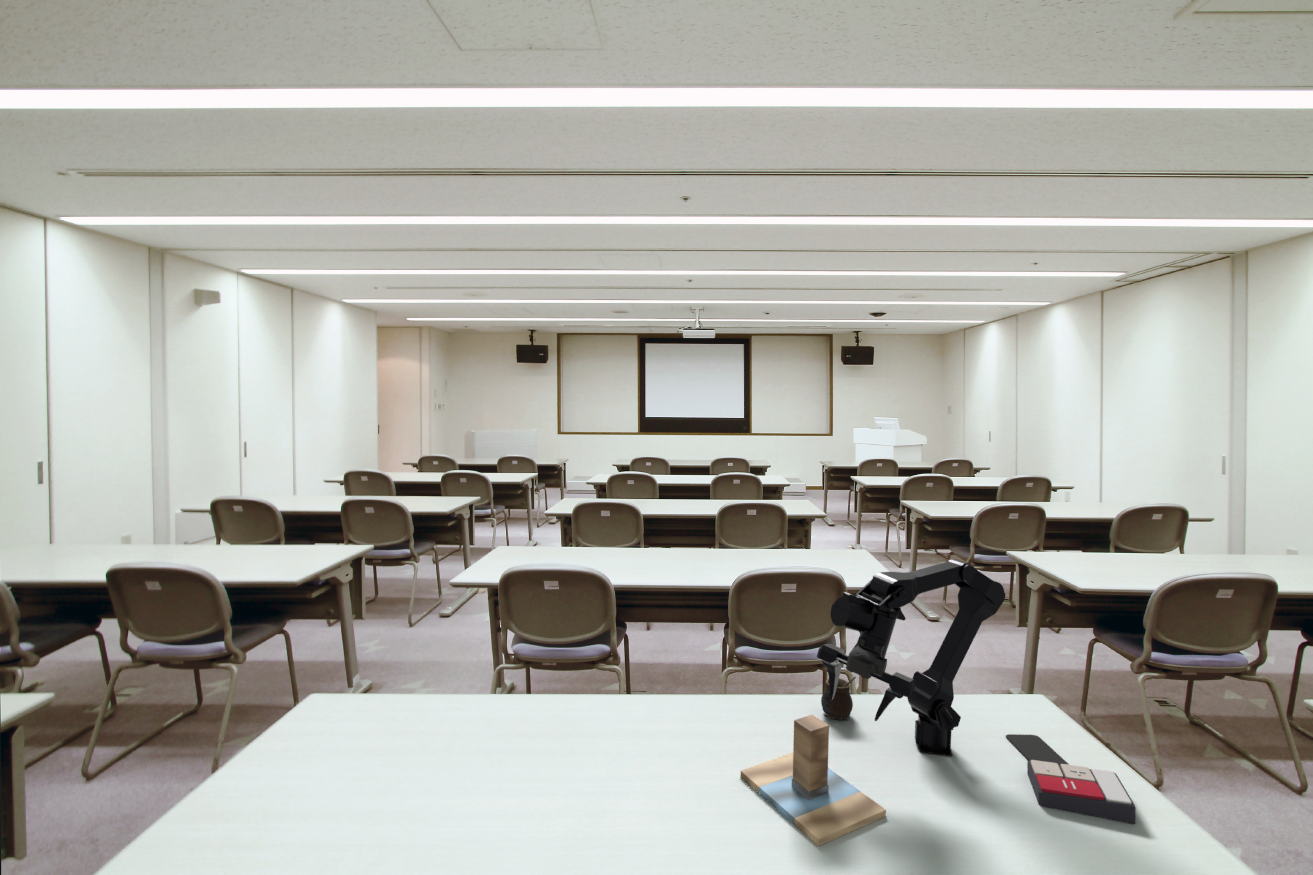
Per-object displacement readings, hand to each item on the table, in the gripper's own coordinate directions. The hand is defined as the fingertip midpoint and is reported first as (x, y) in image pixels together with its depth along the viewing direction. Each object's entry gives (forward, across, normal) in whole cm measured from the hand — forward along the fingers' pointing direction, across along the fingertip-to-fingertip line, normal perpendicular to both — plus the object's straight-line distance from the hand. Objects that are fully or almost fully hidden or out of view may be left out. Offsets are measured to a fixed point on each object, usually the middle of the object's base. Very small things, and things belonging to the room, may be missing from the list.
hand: (853, 709), depth 129 cm
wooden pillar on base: (+14, -2, -11) cm, 18 cm away
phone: (-1, +33, +27) cm, 43 cm away
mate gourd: (+8, -6, +22) cm, 24 cm away
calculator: (+1, +40, +15) cm, 43 cm away
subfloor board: (+16, -1, -10) cm, 19 cm away
